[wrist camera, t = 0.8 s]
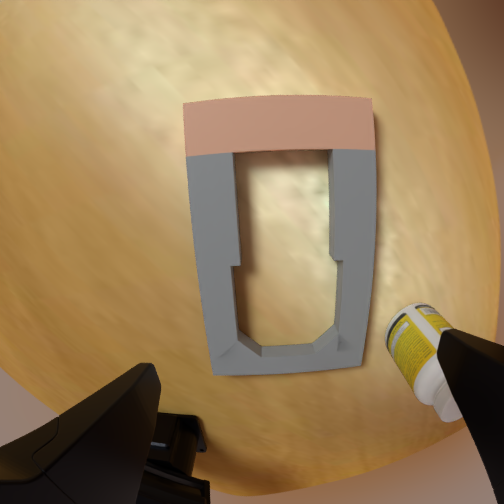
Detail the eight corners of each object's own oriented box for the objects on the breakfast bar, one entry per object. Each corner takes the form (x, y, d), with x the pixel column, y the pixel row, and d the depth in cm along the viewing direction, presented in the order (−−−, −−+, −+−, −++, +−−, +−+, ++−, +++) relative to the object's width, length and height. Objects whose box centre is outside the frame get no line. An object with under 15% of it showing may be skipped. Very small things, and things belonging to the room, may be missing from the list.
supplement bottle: (387, 362, 23) (429, 440, 14) (378, 317, 22) (431, 397, 13) (437, 337, 23) (490, 403, 13) (432, 290, 21) (500, 353, 12)
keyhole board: (356, 355, 23) (360, 365, 22) (215, 364, 24) (213, 375, 22) (364, 102, 17) (371, 98, 16) (188, 107, 18) (182, 103, 16)
